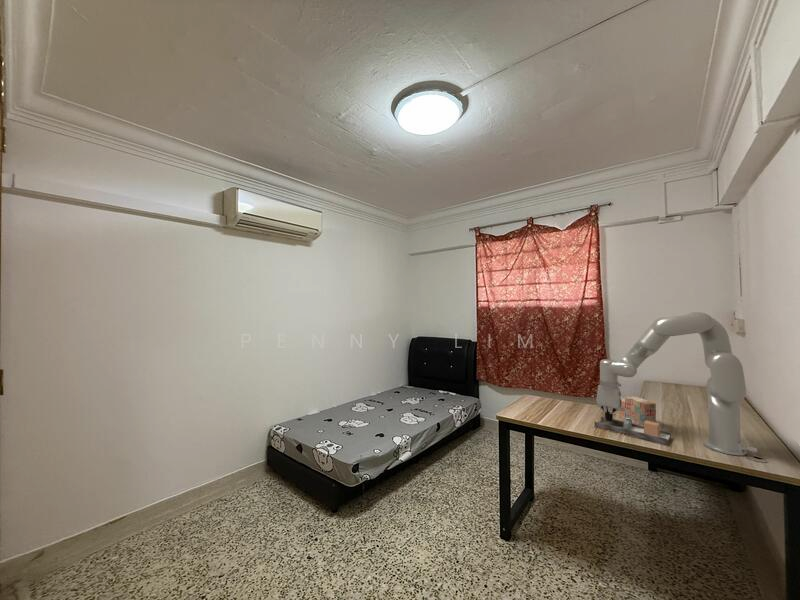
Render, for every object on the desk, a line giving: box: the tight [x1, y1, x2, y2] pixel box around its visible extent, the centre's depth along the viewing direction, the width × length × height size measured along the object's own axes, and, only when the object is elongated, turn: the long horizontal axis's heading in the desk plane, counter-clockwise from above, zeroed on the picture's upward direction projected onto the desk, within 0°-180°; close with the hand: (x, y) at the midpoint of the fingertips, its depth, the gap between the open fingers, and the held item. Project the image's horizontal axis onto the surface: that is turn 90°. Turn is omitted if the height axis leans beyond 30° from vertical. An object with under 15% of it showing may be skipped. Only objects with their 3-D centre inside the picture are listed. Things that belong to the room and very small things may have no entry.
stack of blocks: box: [615, 396, 657, 426], centre depth 168 cm, size 21×6×12 cm, turn 8°
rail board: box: [594, 416, 672, 447], centre depth 150 cm, size 28×12×3 cm, turn 42°
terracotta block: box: [644, 420, 661, 436], centre depth 144 cm, size 5×5×5 cm
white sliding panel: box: [623, 419, 670, 442], centre depth 146 cm, size 16×9×4 cm, turn 42°
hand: (608, 420), depth 157 cm, fingers closed
